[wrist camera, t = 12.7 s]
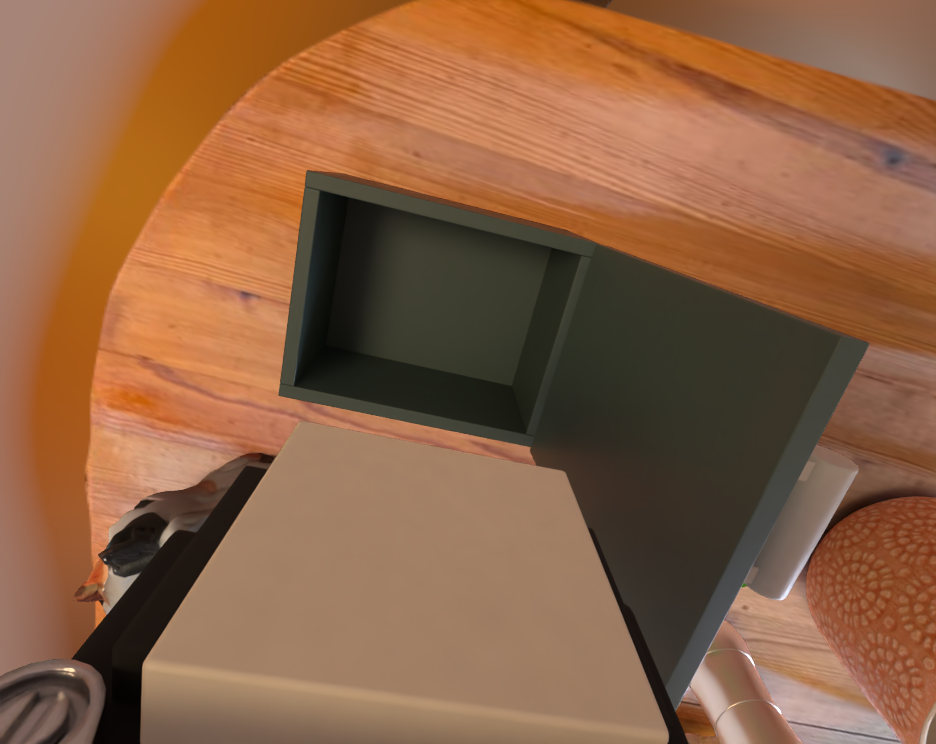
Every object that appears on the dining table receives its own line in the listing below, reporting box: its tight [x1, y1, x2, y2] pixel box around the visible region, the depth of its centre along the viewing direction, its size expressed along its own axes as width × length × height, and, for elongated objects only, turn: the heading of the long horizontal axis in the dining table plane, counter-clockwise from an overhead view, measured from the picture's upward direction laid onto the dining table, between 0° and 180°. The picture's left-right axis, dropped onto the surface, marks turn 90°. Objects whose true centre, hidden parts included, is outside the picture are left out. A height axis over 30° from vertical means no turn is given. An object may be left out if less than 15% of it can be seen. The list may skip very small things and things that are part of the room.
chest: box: [279, 170, 599, 447], centre depth 33 cm, size 16×13×9 cm
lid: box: [530, 244, 869, 711], centre depth 22 cm, size 16×13×5 cm
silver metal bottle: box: [689, 620, 803, 744], centre depth 39 cm, size 6×7×20 cm
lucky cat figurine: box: [73, 453, 274, 615], centre depth 37 cm, size 15×12×14 cm
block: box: [140, 421, 669, 744], centre depth 8 cm, size 5×5×5 cm
